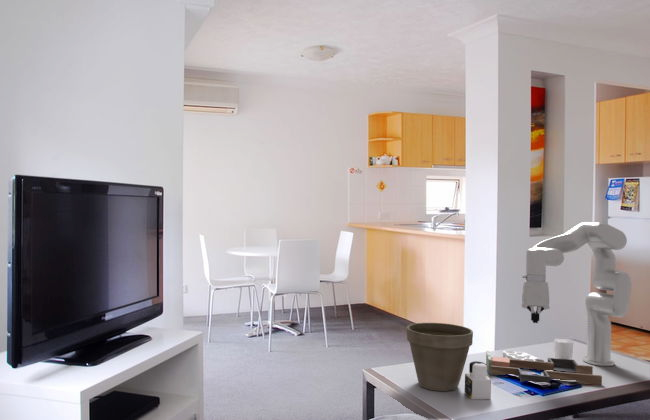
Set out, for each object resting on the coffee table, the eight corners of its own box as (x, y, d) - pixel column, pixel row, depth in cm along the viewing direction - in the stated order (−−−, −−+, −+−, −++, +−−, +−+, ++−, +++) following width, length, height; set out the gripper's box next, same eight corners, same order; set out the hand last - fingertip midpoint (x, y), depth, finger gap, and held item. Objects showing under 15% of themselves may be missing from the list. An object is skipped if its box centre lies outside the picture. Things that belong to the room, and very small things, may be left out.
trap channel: (484, 360, 230) (485, 346, 231) (586, 369, 221) (587, 355, 221) (489, 380, 202) (490, 365, 202) (607, 391, 192) (607, 375, 192)
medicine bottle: (464, 392, 187) (465, 359, 187) (483, 392, 187) (483, 359, 187) (471, 399, 180) (472, 365, 180) (491, 399, 180) (491, 365, 180)
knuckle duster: (549, 367, 223) (521, 370, 218) (521, 356, 240) (495, 358, 235) (549, 360, 223) (521, 362, 218) (521, 349, 240) (495, 351, 235)
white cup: (575, 366, 225) (575, 343, 225) (555, 364, 226) (556, 342, 226) (570, 361, 232) (570, 339, 233) (551, 359, 234) (552, 337, 234)
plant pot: (415, 371, 211) (416, 318, 211) (477, 381, 200) (478, 325, 201) (396, 389, 189) (398, 330, 189) (464, 401, 178) (466, 339, 178)
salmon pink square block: (492, 366, 221) (492, 356, 221) (509, 368, 219) (509, 358, 219) (491, 371, 215) (491, 360, 215) (509, 373, 212) (509, 362, 212)
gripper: (517, 278, 211) (517, 323, 211) (556, 280, 207) (556, 325, 207) (515, 276, 218) (515, 319, 218) (553, 278, 214) (552, 321, 214)
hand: (535, 322), depth 213 cm, fingers closed
